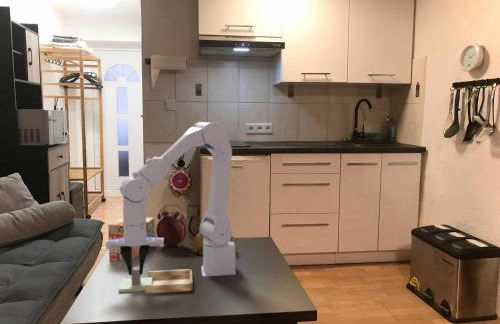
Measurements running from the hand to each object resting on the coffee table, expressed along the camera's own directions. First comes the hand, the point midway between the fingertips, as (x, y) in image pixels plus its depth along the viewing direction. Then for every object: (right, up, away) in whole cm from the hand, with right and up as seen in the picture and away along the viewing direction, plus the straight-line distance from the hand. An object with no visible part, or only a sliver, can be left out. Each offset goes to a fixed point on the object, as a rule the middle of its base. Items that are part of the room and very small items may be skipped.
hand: (136, 273), depth 106 cm
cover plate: (0, -3, 0) cm, 3 cm away
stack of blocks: (-9, -1, +30) cm, 31 cm away
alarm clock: (+3, 0, +35) cm, 35 cm away
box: (+9, -4, +2) cm, 10 cm away
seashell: (+17, -1, +31) cm, 36 cm away
